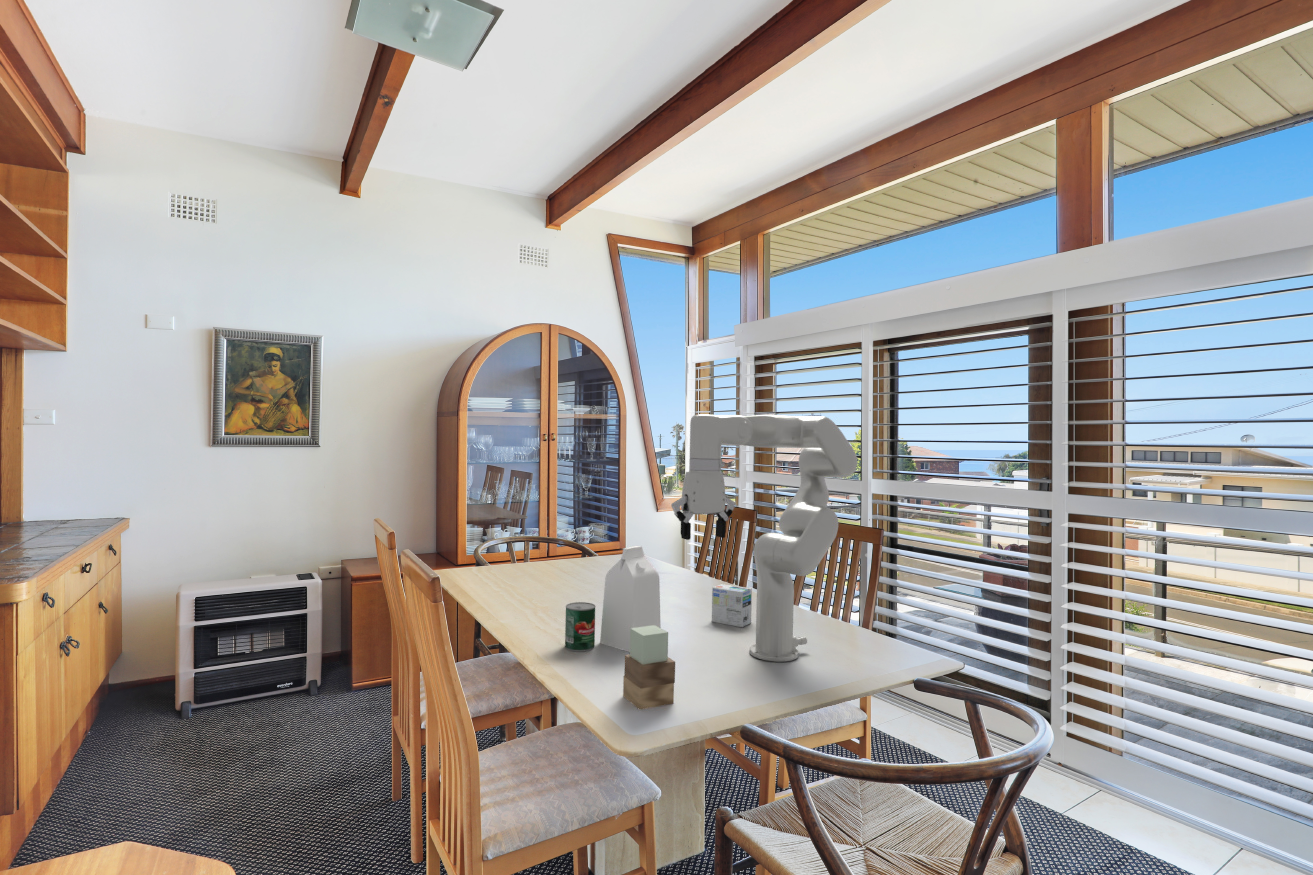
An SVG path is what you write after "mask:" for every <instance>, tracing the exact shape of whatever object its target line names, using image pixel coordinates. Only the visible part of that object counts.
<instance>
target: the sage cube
mask: <svg viewBox="0 0 1313 875" xmlns="http://www.w3.org/2000/svg"><path fill="white" fill-rule="evenodd" d="M629 655H630V657H632V658H633V659H635V660H636V661H638V662H639V663H641V664H642V665H643V664H650V663H656V662H662V661H668V657H669V631H667V630H665V629H663V628H662V627H661V628H659V627H657V626H655V625H652V626H644V627H637V628H630V652H629Z"/></svg>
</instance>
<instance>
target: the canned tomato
mask: <svg viewBox="0 0 1313 875" xmlns="http://www.w3.org/2000/svg"><path fill="white" fill-rule="evenodd" d="M596 606H597V605H596V604H594V603H592V602H586V601H581V602H580V601H578V602H577V601H576V602H570V603H567V604H565V624H564V626H565V628H564V629H565V630H564V632H565V633H564V635H565V636H564V648H565V650H567V651H570V652H579V653H580V652H581V653H582V652H588V651H591V650H594V649H595V648H596V646H595V644H596V642H595V641H596V639H595V638H596V637H595V635H596V634H595V633H596V632H595V631H596Z"/></svg>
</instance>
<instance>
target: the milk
mask: <svg viewBox="0 0 1313 875" xmlns="http://www.w3.org/2000/svg"><path fill="white" fill-rule="evenodd" d="M604 579H605V580H604V589H603V600H602V601H603V602H602V615H601V628H600V637H599V638H600V641H599V643H600V644H602V645H605V646H608V647H612V648H616V649H617V650H622V651H624V652H629V653H630V628H637V627H644V626H652V625H655V626H657V627H659V628H661V629H662V627H661V596H660V595H661V592H660V589H661V588H660V587H661V586H660V585H661V584H660V583H661V582H660V575H659V572H658V571H657V569H656V568H655V567H654V565H653V564H652V563H651V562H650V560H649V559H648V558H647V557H646V556H645V552H644V550H643V546H642V545H641V546H640V545H636V546H629V547H624V548H623V550H622V554H621V556H620V560H618V561H617V562H616V563H614V565H613V566H612V567H611V568H610V569H609V570H608V571H607V573H606V574H605V578H604Z"/></svg>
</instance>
